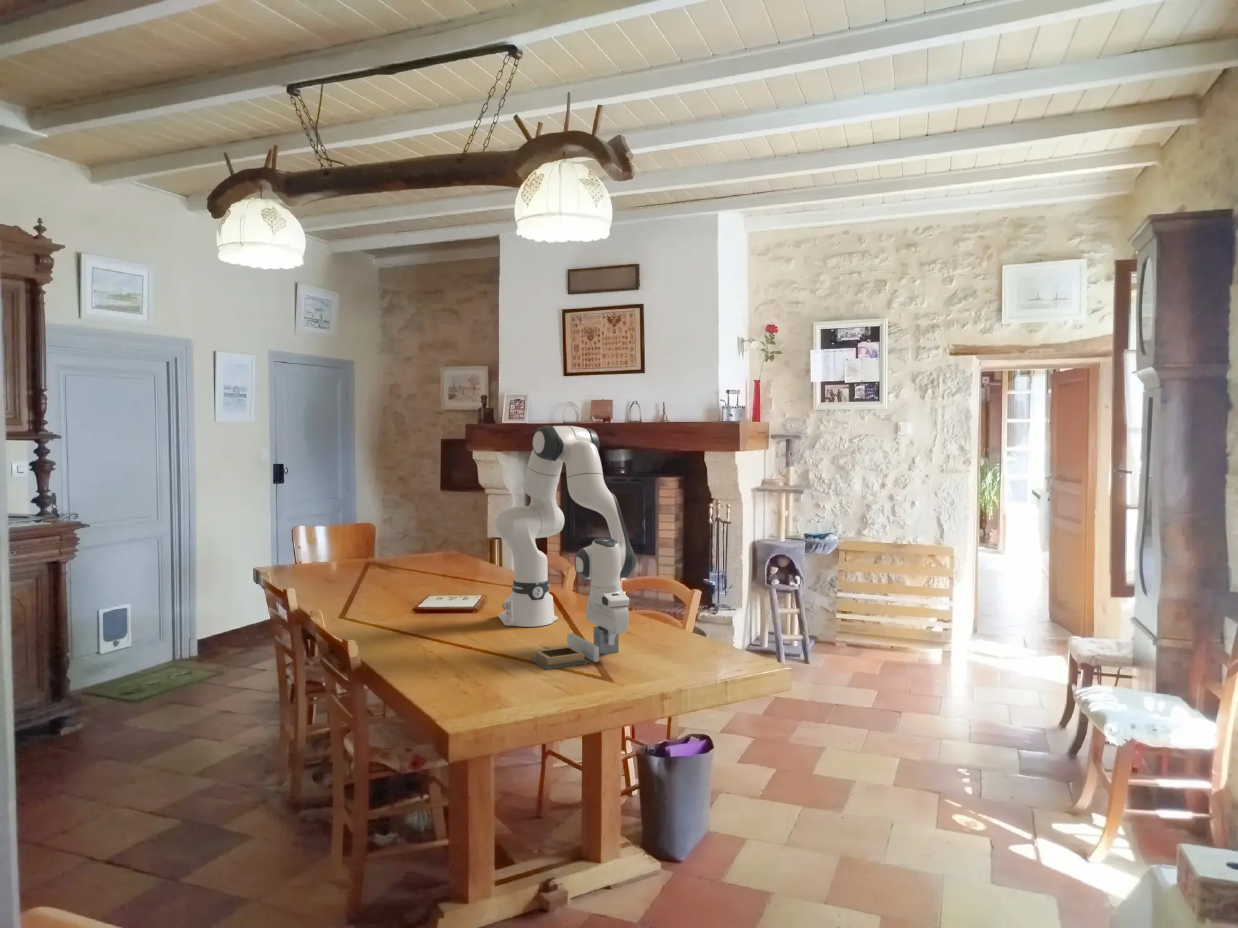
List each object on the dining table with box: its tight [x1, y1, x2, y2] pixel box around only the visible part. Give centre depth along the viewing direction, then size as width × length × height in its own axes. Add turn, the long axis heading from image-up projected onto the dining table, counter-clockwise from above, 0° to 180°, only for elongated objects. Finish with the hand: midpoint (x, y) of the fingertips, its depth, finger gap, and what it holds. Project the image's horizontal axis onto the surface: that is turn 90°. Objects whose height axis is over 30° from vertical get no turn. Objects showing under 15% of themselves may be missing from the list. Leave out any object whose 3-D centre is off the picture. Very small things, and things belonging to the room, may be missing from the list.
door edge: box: [566, 632, 600, 663], centre depth 239 cm, size 18×2×4 cm, turn 28°
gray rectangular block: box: [593, 626, 620, 656], centre depth 241 cm, size 4×6×7 cm, turn 118°
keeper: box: [529, 646, 590, 671], centre depth 231 cm, size 11×13×3 cm
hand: (606, 642), depth 241 cm, fingers closed on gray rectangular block, 4 cm apart
